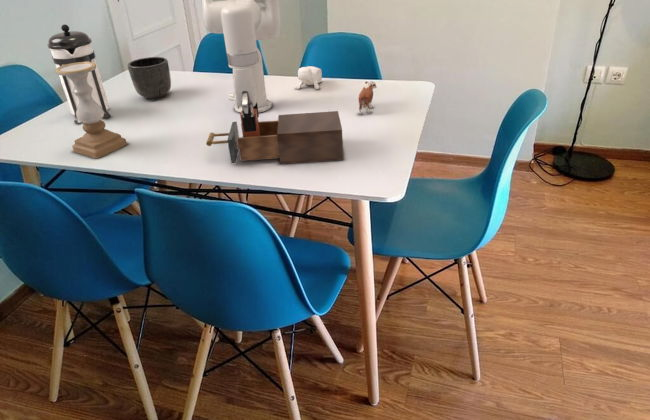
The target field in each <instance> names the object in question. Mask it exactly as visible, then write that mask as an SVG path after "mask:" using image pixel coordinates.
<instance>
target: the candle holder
mask: <svg viewBox="0 0 650 420" xmlns="http://www.w3.org/2000/svg"><path fill="white" fill-rule="evenodd" d="M95 68H96V64H95V63H93V62H77V63H71V64H66V65H63V66H60V67H58V68H55V71H54V72H55V74H56V75H58V76H59V75H62V76H67V77H68V78H69V79H70V80H72V82H73V83H74V89H73V93H74V94H76V96H77V97H78V98H79V104H78V107H77V111H76V117H77V119H78V120H79V121H81V123H83V125H82V130H83V132H85V133H84V134H83V135H82V136H81V137H79V138H77V139H75V140H74V144H72V149H73V152H74V153H77V154H79V155H83V156H86V157H90V158H93V159H100V158H101V157H104V156H106V155H108V154H111V153H113V152H115V151H117V150H119V149H122V148H123V147H125V146H127V145H128V141H127V139H126V138H124V137H123V136H122V135H121V134H119V133H118V132H114V131H111V130H110V129H106V123H105V121H103V120H102V119H103V118H104V111H103V109H102V107H101V106H100V105H98V104H97V103H96V102H95V101H94V100H93V99H92V97H91V93H92V90H93V88H92V87H91V86H90V85H89V84H88V82H87V77H88V72H90V71H93V70H94V69H95Z"/></svg>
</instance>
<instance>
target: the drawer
mask: <svg viewBox="0 0 650 420" xmlns="http://www.w3.org/2000/svg"><path fill="white" fill-rule="evenodd" d="M258 123H259V130H260V136H253V137H243V136H241V137H240V134H239V129H238V122H237V121H232V122H231V126H230V129H229V132H224V133H223V132H222V133H221V132H220V133H214V132H213V131H212V132H210V133H209V135H208V137H207V139H206V142H205V143H206V145H207V146H208V147H211V146H212V145H219V144H220V145H221V144H227V145H228V153H229V158H230V164H237V160H238V156H239V157H240V161H243V162H244V161H255V160H257V161H258V160H271V159H280V155H279V146H278V137H277V130H278V120H267V121H266V120H265V121H264V120H263V121H258ZM240 127H241V128H242V123H240ZM241 134H243V130H242V129H241ZM216 137H227V140H215V138H216Z"/></svg>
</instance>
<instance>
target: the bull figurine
mask: <svg viewBox="0 0 650 420" xmlns="http://www.w3.org/2000/svg"><path fill="white" fill-rule="evenodd" d="M364 84H365V85H364V87H362V88H361V91H360V92H359V95H358V105H359V106H358V111H359V112H358V115H362V108H365V111H366V113H368V114H371V110H370V109H372V108H373V106H372V103H373V102H372V101H373V98H374V89H377V87H378V86H377V84H376V82H375V81H374V80H372V79H371V80H369V81H365V82H364Z"/></svg>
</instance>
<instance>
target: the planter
mask: <svg viewBox="0 0 650 420" xmlns="http://www.w3.org/2000/svg"><path fill="white" fill-rule="evenodd" d="M127 70H128V73H129V76H130V80H131V83H132V85H133V87H134V90H135V91H136V93H137V94H138V95H139V96H141V97H142V98H143V99H144V100H146V101H158V100H162V99H164V98H166V97H167V96H168V93H169V92H170V91H171V88H172V77H171V71H170V66H169V60H168V59H167V58H166V57H163V56H150V57H149V56H148V57H142V58H137V59H134V60H132V61H129V62H128V63H127Z"/></svg>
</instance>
